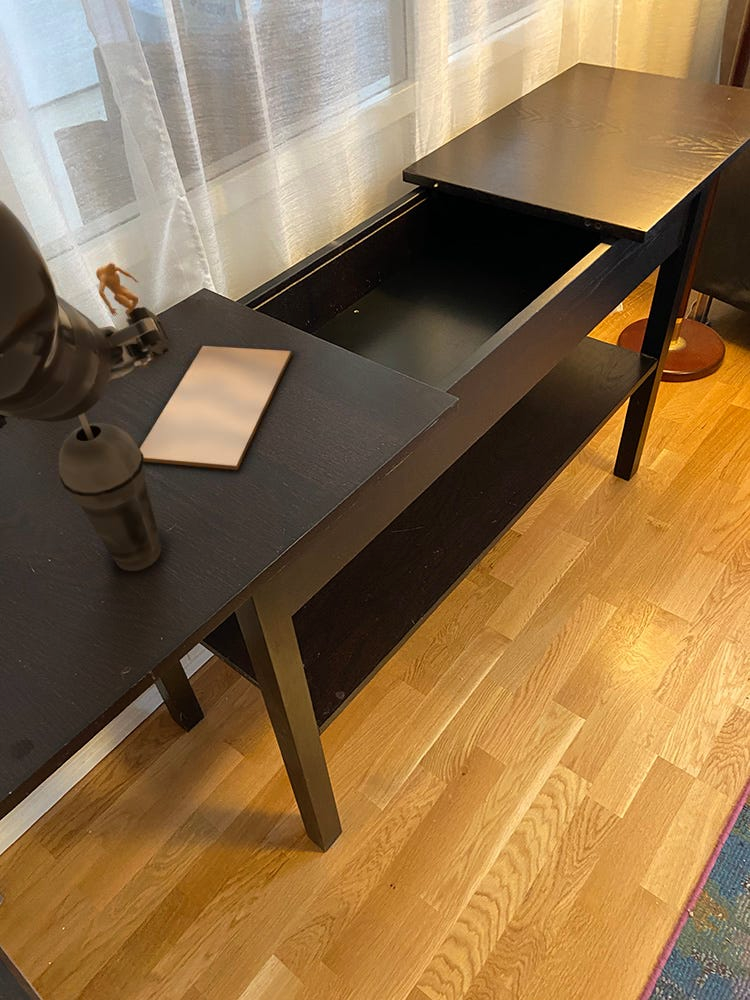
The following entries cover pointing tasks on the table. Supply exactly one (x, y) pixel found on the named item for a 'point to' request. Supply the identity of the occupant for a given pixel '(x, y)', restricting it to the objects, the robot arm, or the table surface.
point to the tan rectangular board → (216, 408)
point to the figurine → (116, 287)
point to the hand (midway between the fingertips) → (90, 378)
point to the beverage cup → (112, 491)
